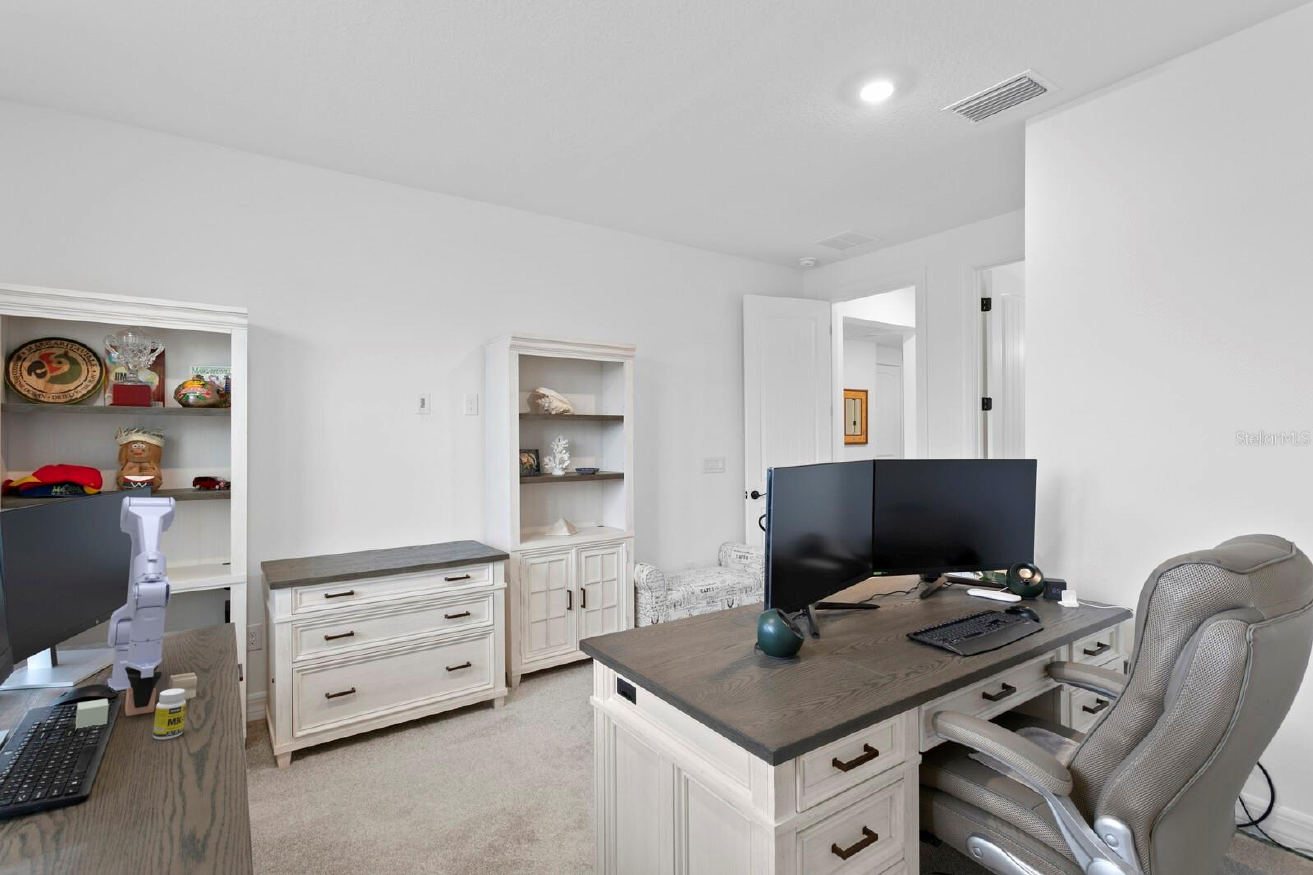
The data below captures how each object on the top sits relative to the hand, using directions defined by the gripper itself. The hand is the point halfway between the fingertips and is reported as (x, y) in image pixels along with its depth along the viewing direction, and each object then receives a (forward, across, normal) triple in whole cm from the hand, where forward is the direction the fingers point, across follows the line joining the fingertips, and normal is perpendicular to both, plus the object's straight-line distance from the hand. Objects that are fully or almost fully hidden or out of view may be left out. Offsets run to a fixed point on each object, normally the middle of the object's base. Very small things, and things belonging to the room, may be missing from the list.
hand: (140, 703), depth 138 cm
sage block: (+2, +5, -8) cm, 10 cm away
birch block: (+2, -5, +8) cm, 10 cm away
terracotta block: (+2, 0, 0) cm, 2 cm away
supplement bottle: (+2, +18, +3) cm, 18 cm away
